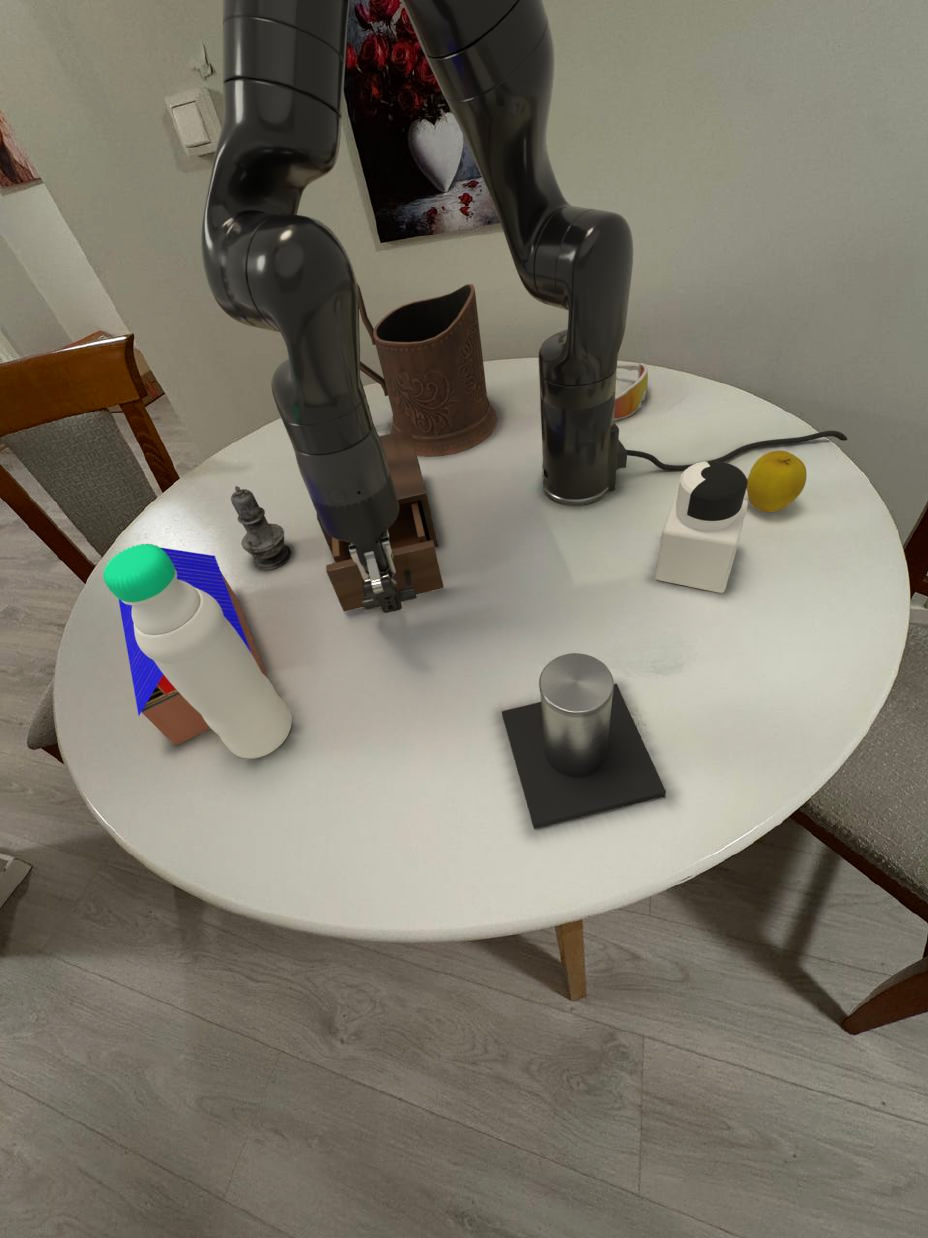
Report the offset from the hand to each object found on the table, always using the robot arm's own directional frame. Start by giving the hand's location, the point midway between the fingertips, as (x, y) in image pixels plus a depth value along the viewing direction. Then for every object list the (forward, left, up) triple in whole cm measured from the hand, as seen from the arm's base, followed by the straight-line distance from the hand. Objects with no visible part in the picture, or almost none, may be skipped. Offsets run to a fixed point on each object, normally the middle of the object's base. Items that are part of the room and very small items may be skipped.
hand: (392, 606), depth 65 cm
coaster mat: (-15, +20, -5) cm, 25 cm away
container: (-36, 0, -5) cm, 36 cm away
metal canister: (-15, +20, -4) cm, 25 cm away
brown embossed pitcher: (-10, -45, -5) cm, 46 cm away
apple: (-49, -7, -5) cm, 50 cm away
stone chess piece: (+16, -20, -5) cm, 26 cm away
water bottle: (+16, +9, -5) cm, 19 cm away
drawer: (0, -10, -4) cm, 11 cm away
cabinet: (0, -22, -5) cm, 23 cm away
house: (+24, -3, -5) cm, 24 cm away
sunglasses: (-39, -41, -5) cm, 57 cm away
